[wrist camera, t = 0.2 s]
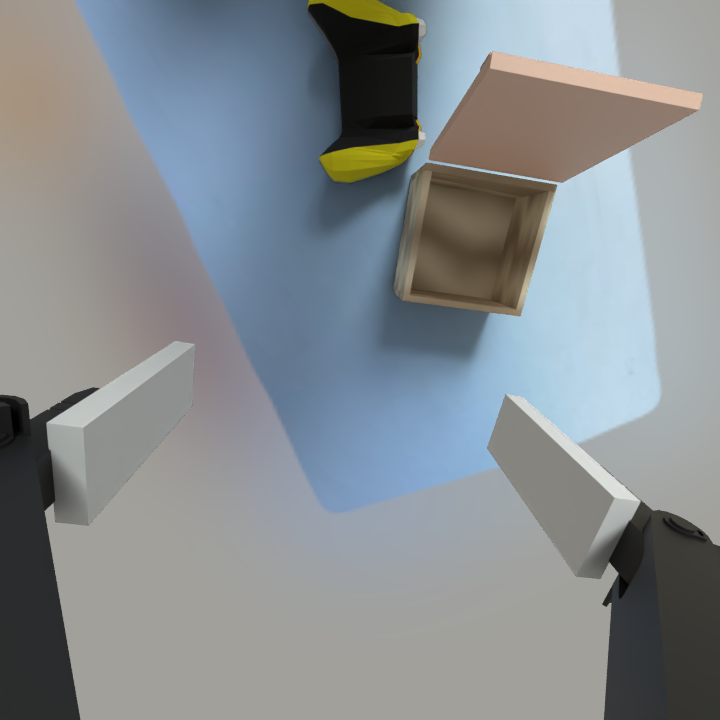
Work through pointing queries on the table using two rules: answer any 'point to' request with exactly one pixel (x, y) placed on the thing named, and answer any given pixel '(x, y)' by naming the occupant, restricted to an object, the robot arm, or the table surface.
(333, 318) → the table surface
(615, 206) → the table surface
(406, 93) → the gaming controller
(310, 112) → the table surface
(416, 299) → the box
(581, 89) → the lid
